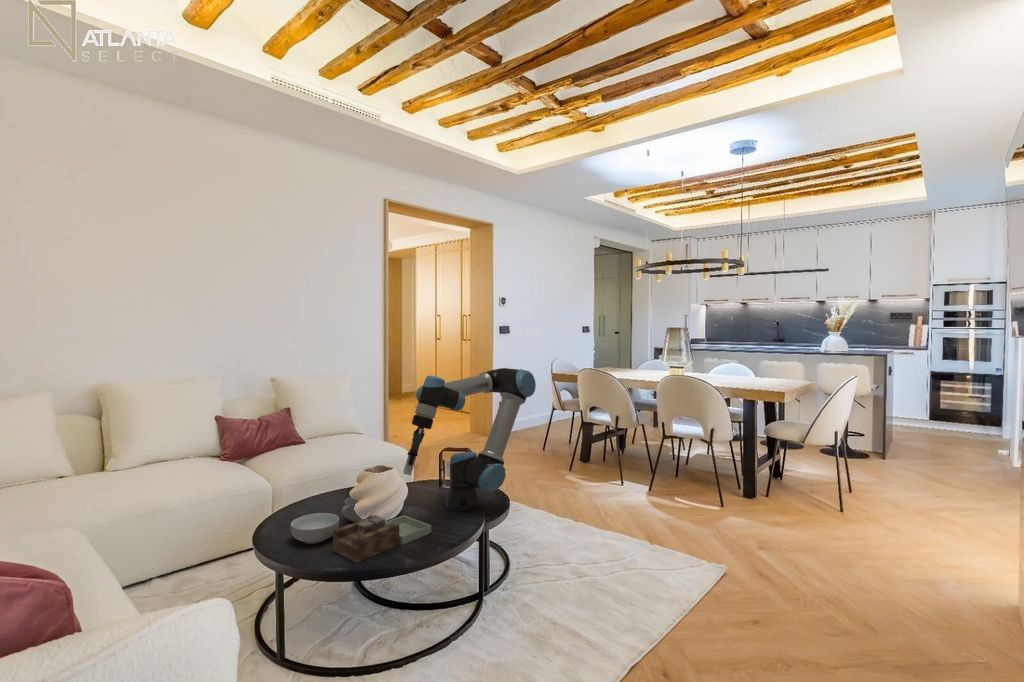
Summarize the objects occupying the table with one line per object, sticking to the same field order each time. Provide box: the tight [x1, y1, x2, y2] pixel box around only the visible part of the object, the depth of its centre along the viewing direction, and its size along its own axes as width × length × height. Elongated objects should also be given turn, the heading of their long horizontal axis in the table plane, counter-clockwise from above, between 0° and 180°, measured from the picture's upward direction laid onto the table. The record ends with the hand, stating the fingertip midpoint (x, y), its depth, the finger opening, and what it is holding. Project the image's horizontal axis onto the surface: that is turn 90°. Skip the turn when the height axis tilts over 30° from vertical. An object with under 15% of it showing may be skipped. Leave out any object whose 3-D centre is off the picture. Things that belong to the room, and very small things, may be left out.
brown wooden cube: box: [357, 521, 374, 536], centre depth 184 cm, size 4×4×4 cm
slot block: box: [332, 515, 401, 564], centre depth 184 cm, size 18×14×8 cm
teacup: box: [341, 496, 362, 523], centre depth 209 cm, size 14×11×8 cm
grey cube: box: [369, 516, 386, 531], centre depth 188 cm, size 4×4×4 cm
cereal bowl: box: [290, 512, 340, 545], centre depth 191 cm, size 17×17×7 cm
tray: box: [385, 514, 432, 546], centre depth 197 cm, size 14×16×3 cm
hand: (406, 473), depth 188 cm, fingers open, 13 cm apart
